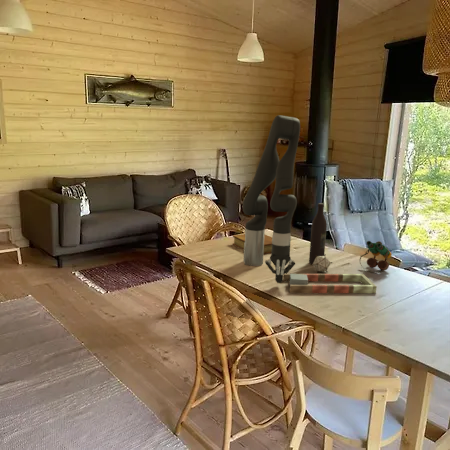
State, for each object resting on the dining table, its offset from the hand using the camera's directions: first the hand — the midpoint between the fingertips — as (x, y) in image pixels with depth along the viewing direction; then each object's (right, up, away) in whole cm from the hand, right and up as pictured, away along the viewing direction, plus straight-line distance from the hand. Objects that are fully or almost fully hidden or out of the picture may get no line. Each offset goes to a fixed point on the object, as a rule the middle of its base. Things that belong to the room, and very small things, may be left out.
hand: (278, 282), depth 186 cm
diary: (-5, +11, +58) cm, 59 cm away
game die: (+22, +2, +21) cm, 30 cm away
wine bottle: (+22, +5, +32) cm, 39 cm away
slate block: (+8, -2, +1) cm, 9 cm away
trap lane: (+21, -2, +2) cm, 21 cm away
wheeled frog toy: (+50, +3, +26) cm, 56 cm away
